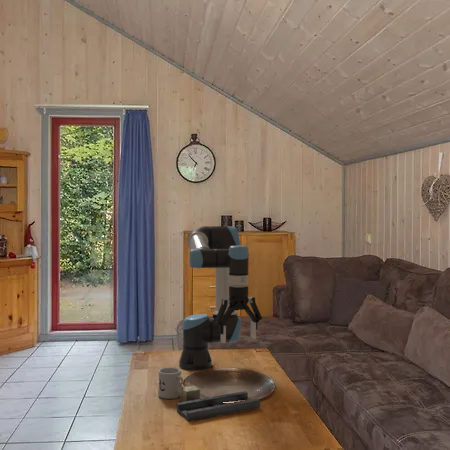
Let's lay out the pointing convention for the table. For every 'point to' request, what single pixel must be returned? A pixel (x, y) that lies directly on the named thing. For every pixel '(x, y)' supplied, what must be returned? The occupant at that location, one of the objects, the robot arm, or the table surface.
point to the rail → (216, 406)
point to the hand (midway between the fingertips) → (238, 340)
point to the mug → (170, 383)
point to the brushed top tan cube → (190, 393)
